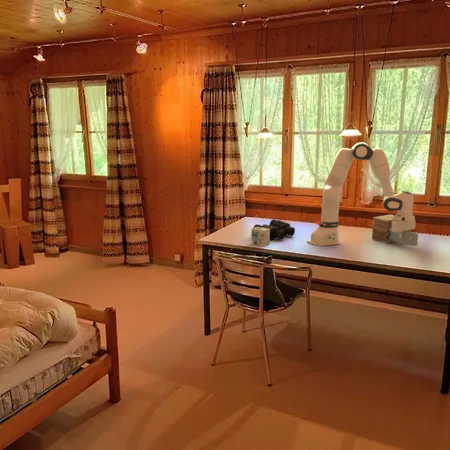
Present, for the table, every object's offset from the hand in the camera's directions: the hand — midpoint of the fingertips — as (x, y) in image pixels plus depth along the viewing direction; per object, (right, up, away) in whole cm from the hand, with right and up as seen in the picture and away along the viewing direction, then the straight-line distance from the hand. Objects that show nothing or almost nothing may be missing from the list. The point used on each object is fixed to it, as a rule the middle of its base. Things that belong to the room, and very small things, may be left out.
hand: (402, 237), depth 289 cm
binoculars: (-80, -1, +27) cm, 84 cm away
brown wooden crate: (-2, -2, +18) cm, 18 cm away
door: (0, -4, +1) cm, 4 cm away
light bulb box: (-93, -5, +7) cm, 93 cm away
